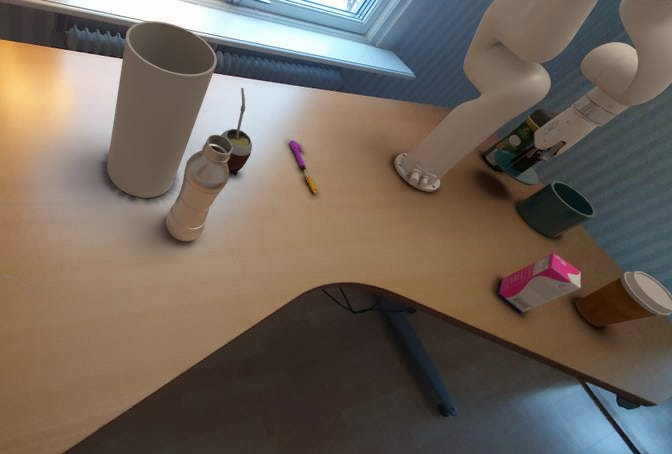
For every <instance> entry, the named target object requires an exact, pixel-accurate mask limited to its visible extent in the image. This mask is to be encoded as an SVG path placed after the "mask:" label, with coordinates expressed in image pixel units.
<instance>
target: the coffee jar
mask: <svg viewBox="0 0 672 454" xmlns="http://www.w3.org/2000/svg"><path fill="white" fill-rule="evenodd" d="M560 113H561V112H558V111H554V110H551V109H546V108H541V107H540V108H539V107H538V108H536V109H535V110H534V111H533V112H531V113H530V114H529V115H528V116H527V117H526V118H525V119H524V120H523V122H521V123H520V124H519V125H517V127H516V128H514V129H513V130H511V131H510V132H509V133H507V134H506V135H505V136H503V138H501V139H499V141H497V142H496V143H494V144H493V145H491V146H490V147H489V148H488V149H487V150H485V151H483V158H484V160H485V162H486V163H487V164H488V165H490V166H491V167H492V168H494V169H495V170H498V171H501V172H504V171H503V170H502V169H501V168H500V167H499V166H498V164H497V163H496V162H495V160H494V157H493V154H494V152H495V151H497V150H505V151H508V152H510V153H513V154H515V155H516V156H517V155H518V154H519V153H521V152H522V151H523V150H525V149H526V148H527V147H528V146H529V145H531V144H532V143H533V142H534V141H535V139H534V134H535V132H536V131H537V130H538V129H539V128H541V127H542V126H543V125H545V124H546V123H548V122H549V121H550V120H552V119H553V118H555V117H556V116H557V115H559V114H560ZM526 150H527V149H526Z"/></svg>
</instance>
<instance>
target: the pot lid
mask: <svg viewBox="0 0 672 454" xmlns="http://www.w3.org/2000/svg"><path fill="white" fill-rule="evenodd" d="M534 150H535V148H533V149H531V150H530V151H529V152H527V153H526V154H525V155H528V154H530V153H531V152H532V151H534ZM537 153H540V154H542V153H541V152H537ZM525 155H523V156H525ZM523 156H522V157H523ZM493 157H494V160H495V162H496V163H497V164H498V166H499V167H500V168H501V169H502V170H503V171H502V172H504V173H505V174H506V175H507V176H509V177H510V178H511V179H513V180H515V181H517V182H518V183H521V184H523V185H525V186H536V185H537V184H538V183H539V181H540V179H539V176H538V174H537V172H536V171H535V170H534V168H533V167H530V168H529V169H528V170H526V171H525V172H523V173H521V172H519V171H518V170H516V169H514V168H513V167H512V164H514V163H515V162H516V161H515V162H512V159H513V158H514V157H516V155H515V154H513V153H510V152H508V151H505V150H497V151H495V152H494V154H493ZM522 157H521V158H522ZM521 158H519V159H521ZM519 159H518V160H519ZM518 160H517V161H518Z"/></svg>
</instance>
